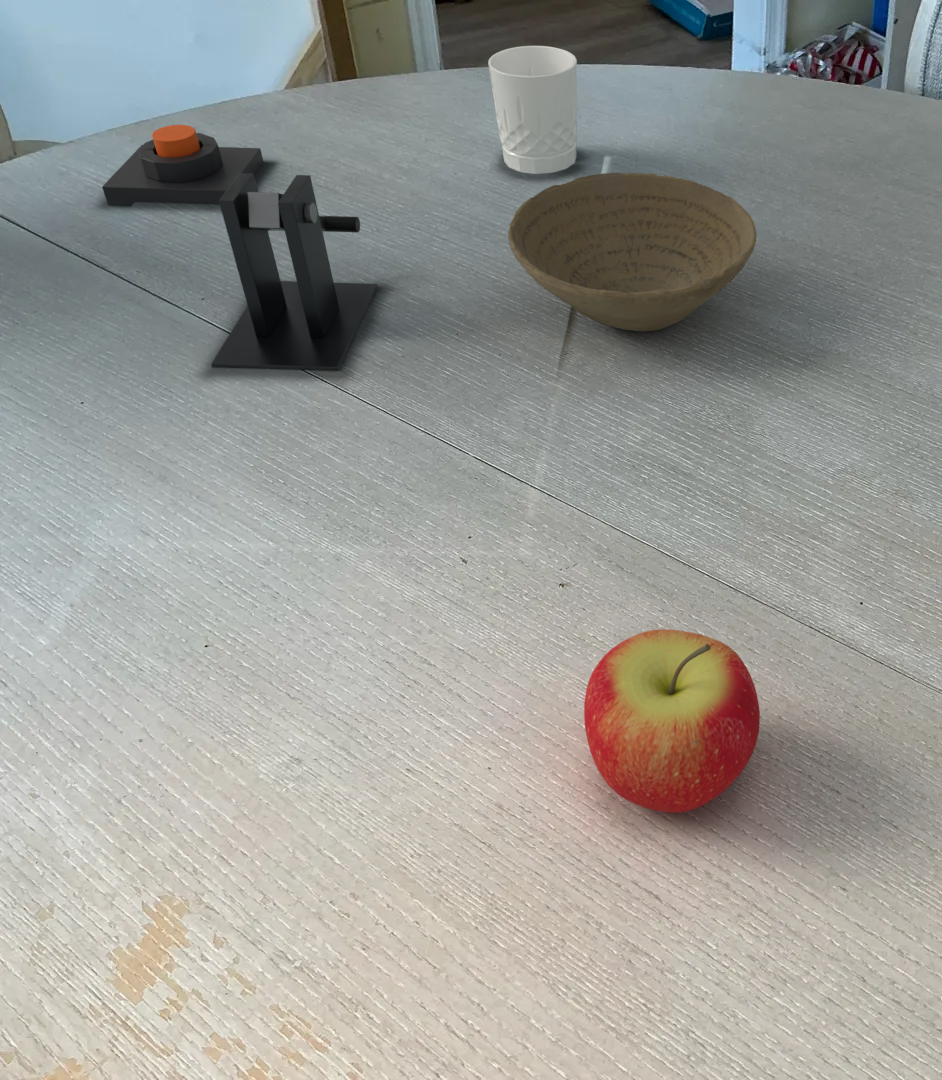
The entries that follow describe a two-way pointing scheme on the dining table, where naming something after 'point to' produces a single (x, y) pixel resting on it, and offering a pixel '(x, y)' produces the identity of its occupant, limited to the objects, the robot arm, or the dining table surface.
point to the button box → (180, 174)
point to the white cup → (536, 107)
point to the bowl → (632, 246)
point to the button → (175, 141)
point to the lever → (269, 218)
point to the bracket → (288, 289)
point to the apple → (671, 719)
